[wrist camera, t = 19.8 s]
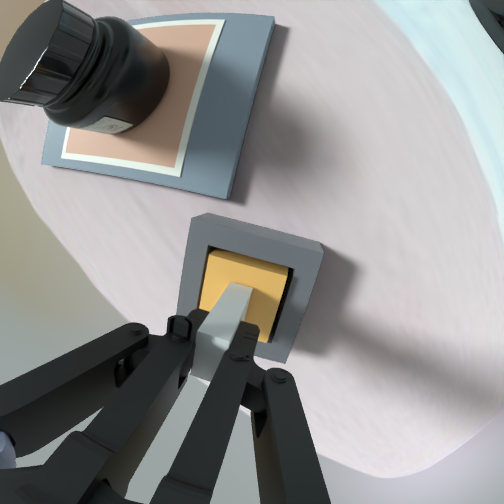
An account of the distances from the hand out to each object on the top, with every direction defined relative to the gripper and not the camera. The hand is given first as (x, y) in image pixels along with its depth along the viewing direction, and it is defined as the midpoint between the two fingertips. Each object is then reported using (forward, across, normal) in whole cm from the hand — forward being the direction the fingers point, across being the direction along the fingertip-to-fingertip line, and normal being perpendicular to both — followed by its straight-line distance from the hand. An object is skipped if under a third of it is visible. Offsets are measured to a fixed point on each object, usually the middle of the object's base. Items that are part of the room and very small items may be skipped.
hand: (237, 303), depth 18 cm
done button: (+4, 0, 0) cm, 4 cm away
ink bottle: (+3, -14, +14) cm, 20 cm away
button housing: (+5, 0, 0) cm, 5 cm away
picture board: (+5, -14, +14) cm, 20 cm away
